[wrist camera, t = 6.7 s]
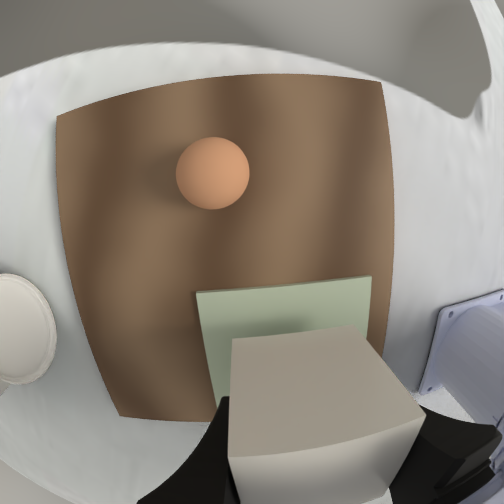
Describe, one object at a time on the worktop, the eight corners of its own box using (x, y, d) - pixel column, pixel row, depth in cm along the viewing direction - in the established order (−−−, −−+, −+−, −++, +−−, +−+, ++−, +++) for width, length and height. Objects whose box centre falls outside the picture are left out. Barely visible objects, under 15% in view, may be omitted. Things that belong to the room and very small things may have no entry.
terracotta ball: (245, 140, 12) (247, 126, 9) (250, 204, 13) (253, 208, 10) (181, 147, 12) (165, 136, 9) (186, 210, 13) (171, 216, 10)
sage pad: (369, 274, 14) (371, 276, 13) (354, 399, 16) (355, 402, 15) (196, 291, 13) (195, 293, 13) (220, 416, 15) (220, 420, 15)
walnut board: (373, 87, 12) (380, 82, 11) (367, 391, 17) (372, 399, 16) (65, 119, 12) (56, 116, 11) (123, 407, 16) (119, 416, 15)
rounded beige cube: (353, 324, 12) (426, 415, 6) (343, 408, 13) (382, 496, 7) (232, 338, 12) (227, 457, 5) (243, 422, 13) (247, 522, 7)
